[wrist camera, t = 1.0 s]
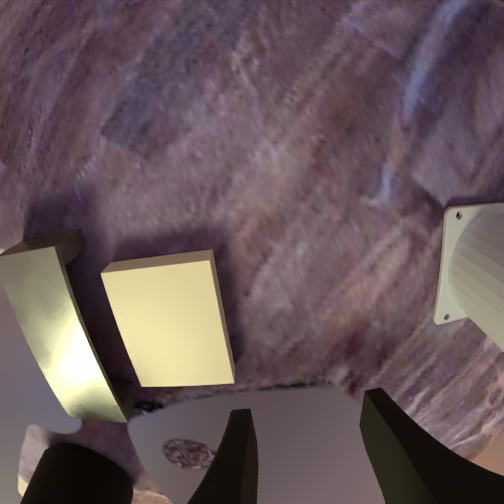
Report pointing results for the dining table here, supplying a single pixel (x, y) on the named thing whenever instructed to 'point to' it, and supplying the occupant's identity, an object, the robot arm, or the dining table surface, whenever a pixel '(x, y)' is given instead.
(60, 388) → the overhang
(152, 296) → the cream sticky note pad
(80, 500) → the coffee jar
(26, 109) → the dining table surface
